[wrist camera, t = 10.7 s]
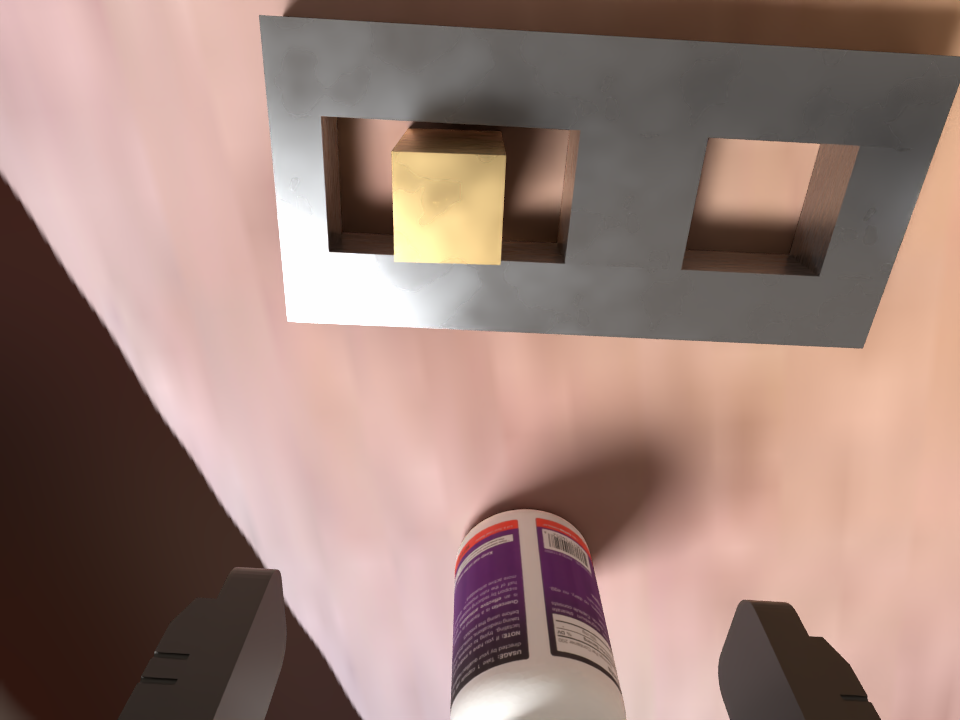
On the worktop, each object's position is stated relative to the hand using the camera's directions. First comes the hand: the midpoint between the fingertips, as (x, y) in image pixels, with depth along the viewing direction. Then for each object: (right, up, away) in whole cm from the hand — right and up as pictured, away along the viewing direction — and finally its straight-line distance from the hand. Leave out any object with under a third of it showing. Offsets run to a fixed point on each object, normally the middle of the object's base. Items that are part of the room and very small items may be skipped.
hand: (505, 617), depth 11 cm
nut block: (-2, +13, +17) cm, 21 cm away
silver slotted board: (+4, +12, +17) cm, 22 cm away
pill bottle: (+2, -7, +28) cm, 29 cm away
